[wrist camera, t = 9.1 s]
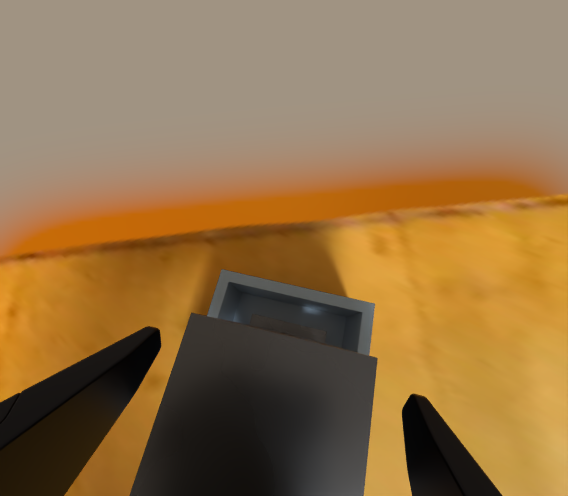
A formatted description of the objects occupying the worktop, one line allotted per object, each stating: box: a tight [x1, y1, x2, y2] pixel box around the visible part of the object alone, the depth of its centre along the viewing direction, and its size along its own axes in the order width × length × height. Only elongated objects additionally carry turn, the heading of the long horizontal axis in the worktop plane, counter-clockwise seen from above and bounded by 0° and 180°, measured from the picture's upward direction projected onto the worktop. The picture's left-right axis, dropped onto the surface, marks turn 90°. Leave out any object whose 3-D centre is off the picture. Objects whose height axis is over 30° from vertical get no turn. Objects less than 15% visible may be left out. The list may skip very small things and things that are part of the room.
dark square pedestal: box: [130, 313, 377, 496], centre depth 10 cm, size 5×5×13 cm
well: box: [207, 269, 375, 356], centre depth 15 cm, size 9×9×5 cm
